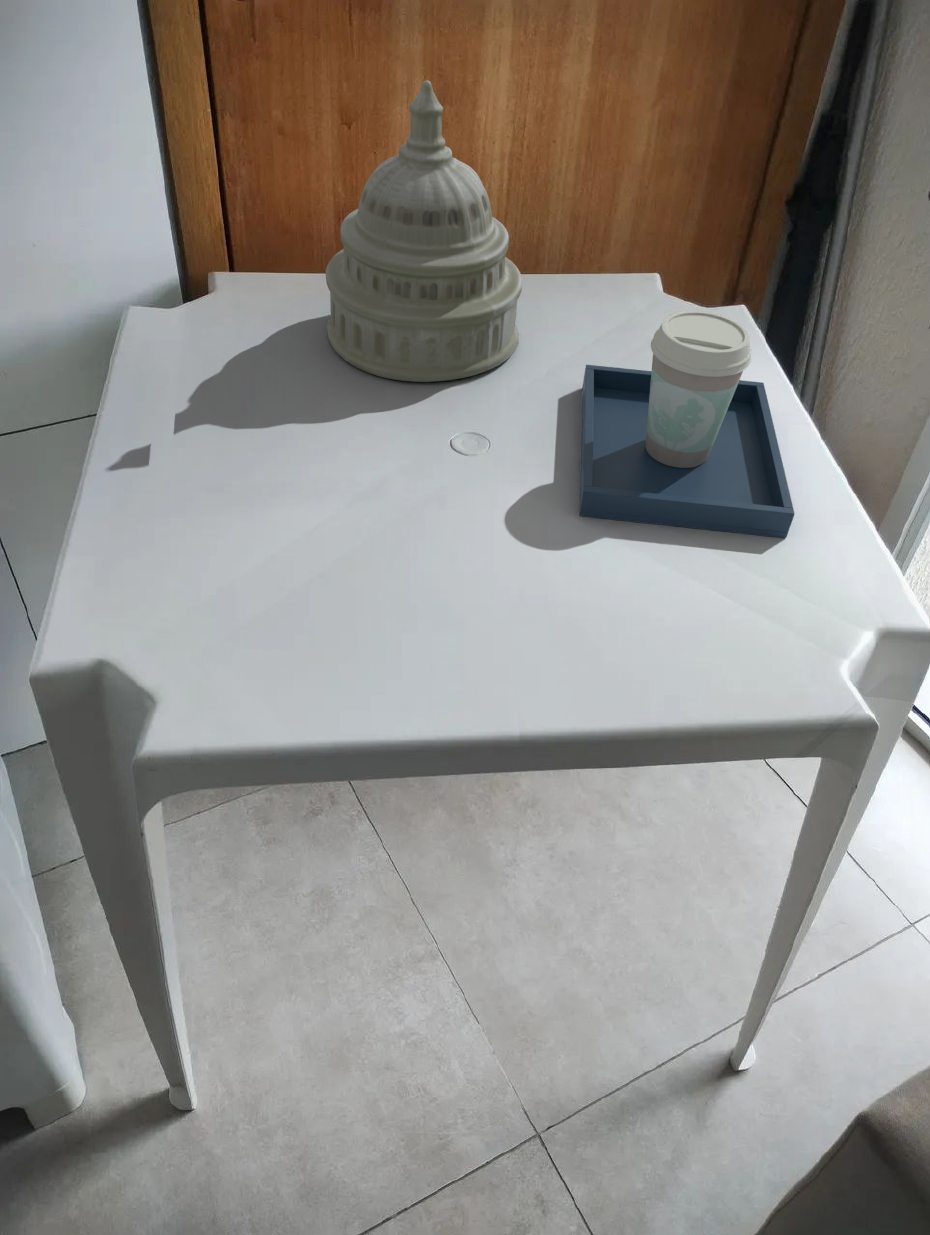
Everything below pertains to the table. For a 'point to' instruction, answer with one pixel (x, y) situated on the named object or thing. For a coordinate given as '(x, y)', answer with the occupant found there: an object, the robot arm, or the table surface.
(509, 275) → the dome
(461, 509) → the table surface
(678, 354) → the coffee cup
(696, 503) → the tray
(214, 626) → the table surface
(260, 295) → the table surface
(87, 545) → the table surface
